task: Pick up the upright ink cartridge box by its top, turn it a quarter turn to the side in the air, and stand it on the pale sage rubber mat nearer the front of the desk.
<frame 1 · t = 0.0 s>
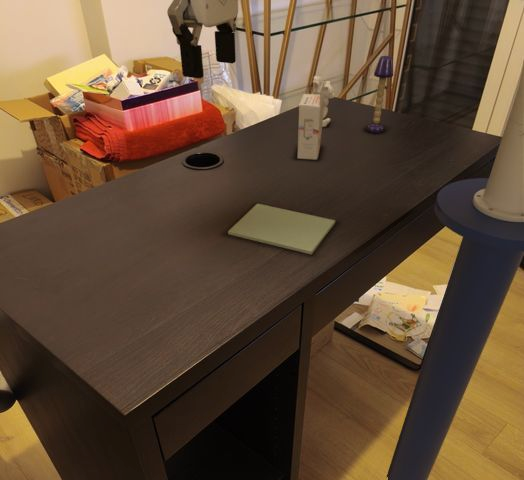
hand: (210, 69, 72), 25 cm above the table, tool pointing down, fingers open, 9 cm apart
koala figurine: (317, 126, 128), on the table
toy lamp: (375, 130, 125), on the table
ink cartridge box: (308, 153, 113), on the table
mat: (282, 228, 87), on the table
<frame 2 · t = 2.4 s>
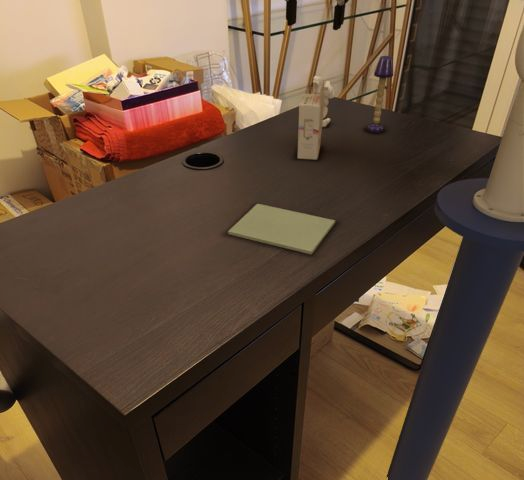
hand: (313, 26, 96), 25 cm above the table, tool pointing down, fingers open, 9 cm apart
nothing on the table moved.
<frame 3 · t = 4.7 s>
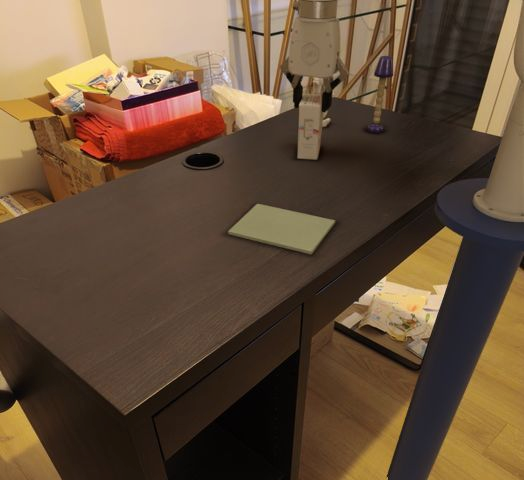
hand: (311, 107, 107), 10 cm above the table, tool pointing down, fingers closed on ink cartridge box, 5 cm apart
ink cartridge box: (308, 153, 113), on the table, touching gripper
everything else where it was.
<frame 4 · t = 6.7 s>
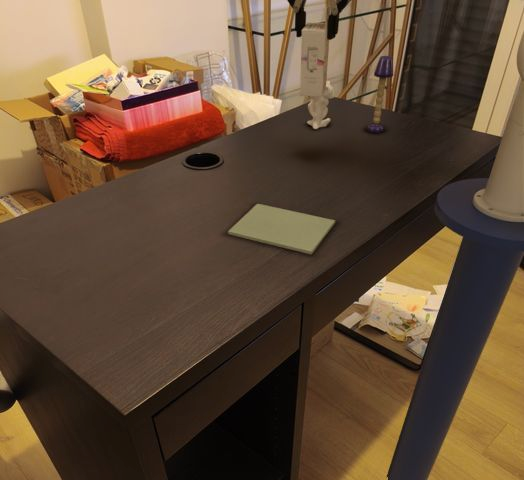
hand: (315, 36, 95), 24 cm above the table, tool pointing down, fingers closed on ink cartridge box, 5 cm apart
ink cartridge box: (312, 92, 102), point 14 cm above the table, touching gripper
everything else where it was.
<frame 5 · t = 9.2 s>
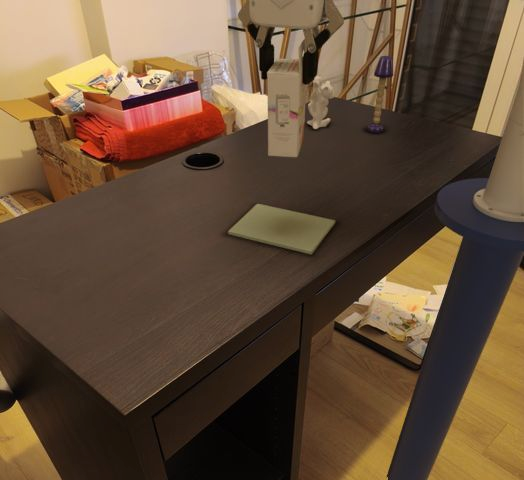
hand: (287, 78, 70), 24 cm above the table, tool pointing down, fingers closed on ink cartridge box, 5 cm apart
ink cartridge box: (285, 148, 77), point 14 cm above the table, touching gripper
everything else where it was.
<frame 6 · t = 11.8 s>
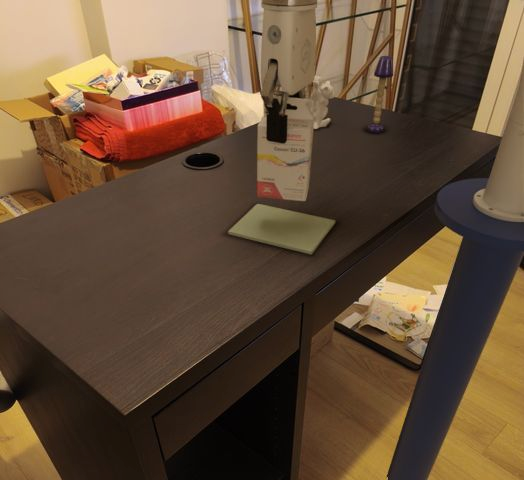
hand: (285, 133, 75), 17 cm above the table, tool pointing down, fingers closed on ink cartridge box, 5 cm apart
ink cartridge box: (283, 194, 82), point 6 cm above the table, touching gripper
everything else where it was.
when the fingers open (11 cm above the table, at t = 13.8 s): ink cartridge box stays where it is, resting on mat.
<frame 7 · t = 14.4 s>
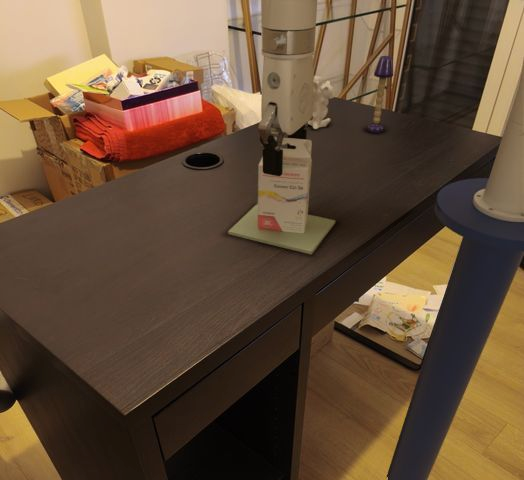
hand: (284, 163, 79), 12 cm above the table, tool pointing down, fingers open, 9 cm apart
ink cartridge box: (282, 226, 86), resting on mat
everything else where it was.
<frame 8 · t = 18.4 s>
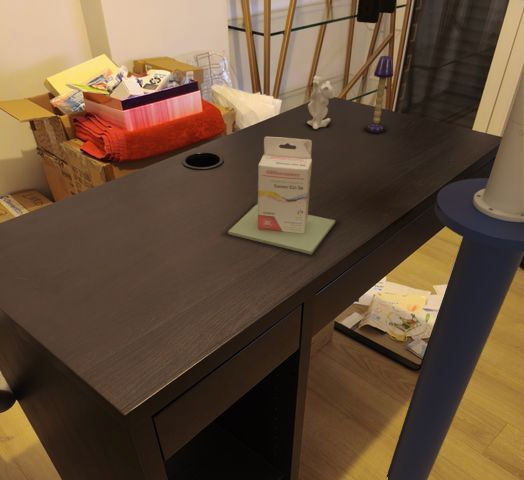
hand: (376, 17, 74), 30 cm above the table, tool pointing down, fingers open, 9 cm apart
nothing on the table moved.
at the end: ink cartridge box inside the target area on the mat (0.1 cm from its centre), point 0.4 cm above the mat's base; ink cartridge box tilted 0°; ink cartridge box moved 37.1 cm from its start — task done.
